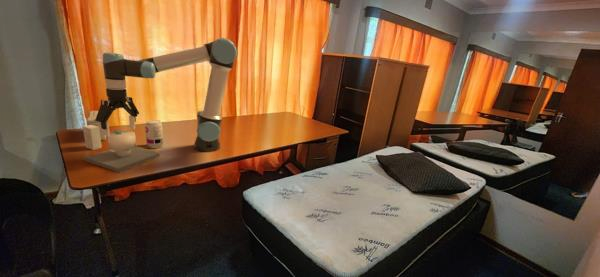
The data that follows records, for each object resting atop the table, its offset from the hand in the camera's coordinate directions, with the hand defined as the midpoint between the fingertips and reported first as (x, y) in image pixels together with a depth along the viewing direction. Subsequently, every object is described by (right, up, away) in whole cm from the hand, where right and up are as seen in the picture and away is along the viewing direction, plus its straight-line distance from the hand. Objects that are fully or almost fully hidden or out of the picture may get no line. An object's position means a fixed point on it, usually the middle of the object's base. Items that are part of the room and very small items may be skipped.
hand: (120, 131), depth 116 cm
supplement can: (+3, -8, +24) cm, 25 cm away
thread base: (-2, -14, +5) cm, 14 cm away
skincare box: (-23, -9, +12) cm, 27 cm away
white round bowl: (-1, -7, +2) cm, 7 cm away
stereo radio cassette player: (-33, -2, +27) cm, 43 cm away
